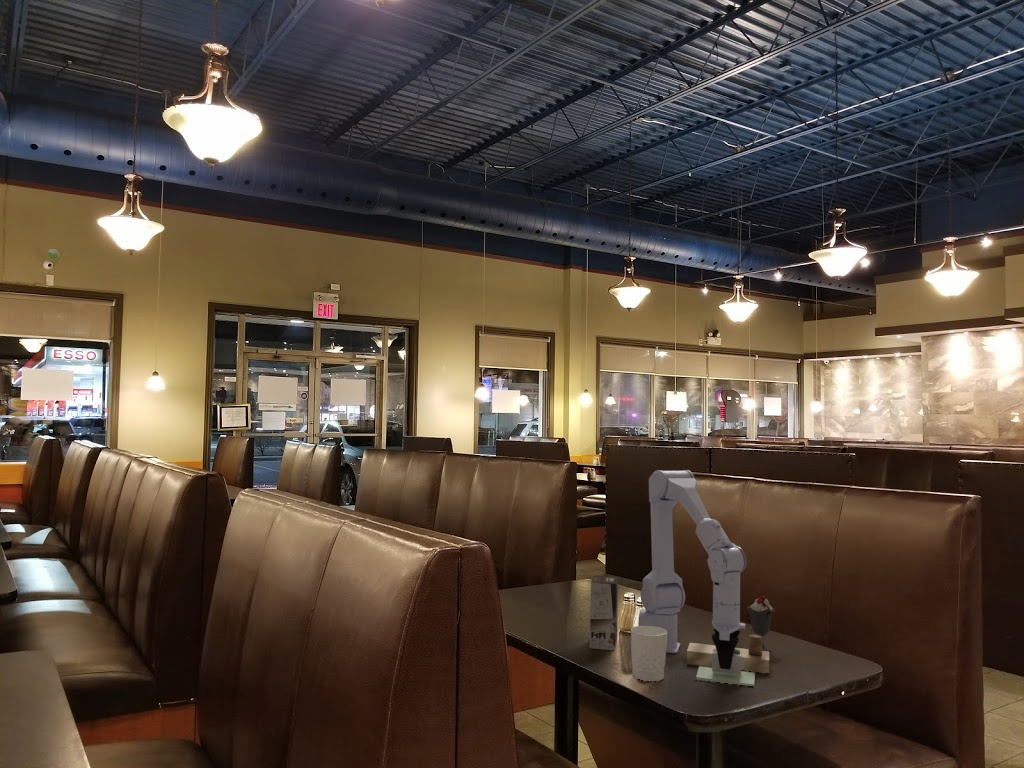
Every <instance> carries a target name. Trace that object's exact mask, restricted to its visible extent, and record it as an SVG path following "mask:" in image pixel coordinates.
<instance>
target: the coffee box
mask: <svg viewBox="0 0 1024 768" xmlns="http://www.w3.org/2000/svg"><path fill="white" fill-rule="evenodd" d="M618 593H619V577H618V576H606V575H605V576H597V575H595V576H593V577H592V579H591V582H590V614H589V615H590V617H589V618H590V619H589V648H590V649H594V650H595V649H596V650H605V651H615V650H616V646H617V642H618V605H619V604H618V601H619V600H618V599H619V597H618V595H619V594H618Z"/></svg>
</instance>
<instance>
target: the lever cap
mask: <svg viewBox="0 0 1024 768" xmlns="http://www.w3.org/2000/svg"><path fill="white" fill-rule="evenodd" d="M711 668H712V672H719V673H727V674H735V675H741V669H742V651H740V650H737V649H734V653H733V658H732V664H731V668H730V670H729V669H721V668H720V665H719V660H718V654H717V650H716V648H715V647H714V648H713V652H712V667H711Z"/></svg>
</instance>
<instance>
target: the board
mask: <svg viewBox="0 0 1024 768" xmlns="http://www.w3.org/2000/svg"><path fill="white" fill-rule="evenodd" d="M755 676H756V672H749V671H741V675H735V674H727V673H719V672H712V667H708V666H700V665H698V668H697V673H696V675H695V680H696V681H700V680H701V681H702V682H708V681H710V682H709V683H716V682H720V683H719V684H724V683H728V684H727V685H732V684H738V685H737V686H739V685H746V686H745V687H747V686H753V687H752V688H755V683H756V682H755ZM701 681H700V682H701Z"/></svg>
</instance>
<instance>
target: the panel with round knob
mask: <svg viewBox="0 0 1024 768" xmlns="http://www.w3.org/2000/svg"><path fill="white" fill-rule="evenodd" d="M714 647H715V648H716V646H715V644H714V645H713V644H707V643H706V644H705V643H697V642H696V643H695V642H689V644H688V647H687V649H686V664H687V665H692V666H693V665H694V666H702V667H710V668H712V652H713V648H714ZM735 649H737V650H740V651H742V669H741V670H745V671H744V672H749V671H751V673H757V672H759V673H760V674H765V673H769V674H770V652H769V651H762V636H759V635H757V634H748V648H740V647H735ZM759 673H758V674H759Z"/></svg>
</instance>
